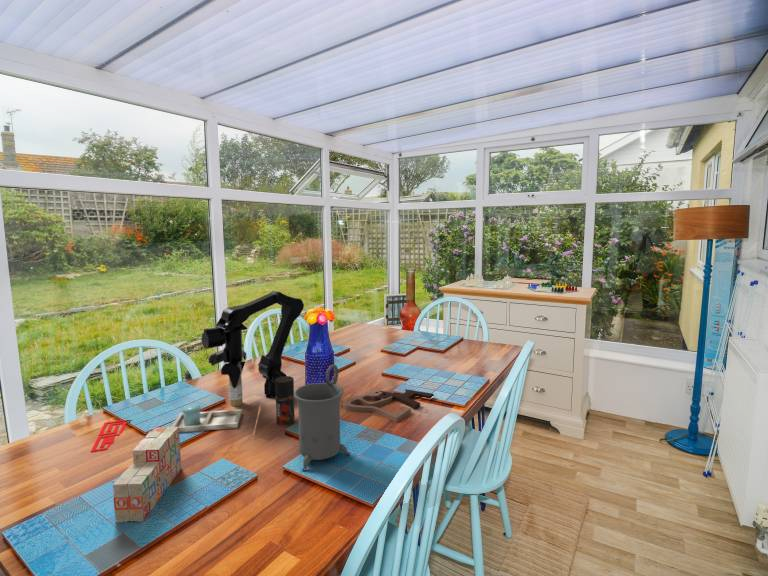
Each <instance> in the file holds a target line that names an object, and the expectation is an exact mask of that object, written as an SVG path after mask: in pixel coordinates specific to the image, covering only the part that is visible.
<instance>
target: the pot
mask: <svg viewBox="0 0 768 576" xmlns="http://www.w3.org/2000/svg"><path fill="white" fill-rule="evenodd" d="M181 410H182V412H183V413H184V426H193V425H199V424H200V412H201V405H200V404H198V403H197V404H196V403H193V404H187V405H185V406H183V407H182V408H181Z"/></svg>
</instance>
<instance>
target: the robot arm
mask: <svg viewBox="0 0 768 576" xmlns="http://www.w3.org/2000/svg"><path fill="white" fill-rule="evenodd" d="M303 301H304V300H302V299H301V298H297V297H292V296H289V295H286V294H285V293H283V292H281V291H276V290H273V291H271V292H269V293H267V294H265V295H263V296H260V297H257V298H256V299H254V300H251V301H249V302H247V303H244V304H239V305H233V306H229V307H225V309H223V310H222V313H221V315H220V316H221V317H220V318H219V320H218V321H217V323H216V324H215V327H211V328H203V333H202V334H201V337H200V338H201V339H200V340H201V344H202V347H203V348H204V349H205V350H208V349H213V348H218V347H223V346H224V345H225V346H224V348H223V349H221V350H218V351H216V352H214V353H211V354H210V355H209V356H208V359H207V360H208V363H209V364H210V365H211V366H215V365H217V364H219V363H222V362H223V365H222V367H221V369H220V374H221V376H226V375H227V376H228V375H229V377H228V379H229V378H230V380H231V383H232V386H233V388H236V387H237V384H238V381H239V378H240V375H241V372H242V373H243V369H244V368H245V364H246V361H247V358H248V357H247V356H248V355H247V352H245V351H244V350H243V348H244V344H243V334H242V331H246V330H248V327H247V326H245V324H243V323H245V322H246V321H248V319H249V317H251V316H252V315H254V314H256V313H258V312H261V311H262V310H265V309H267V308H269V307H271V306H273V305H275V304H277V305H280V306H281V307H280V308H281V309H280V313H281V318H280V321H279V324H278V327H277V330H276V332H275V334H274V337H273V340H272V343H271V346H270V348H269V351H268V352H267V354H266V355H263V354H262V355H261V356H260V360H259V362H258V364H257V366H258V368H257V370H258V371H259V374H260V375H262V377H263V379H265V381H264V387H263V388H264V395H265V398H266V399H267V398H268V399H269V398H276V389H275V379H276V378H278V377H282V376H288V375H287V374H286V373H284V371H282V365H283V364H282V354H283V352H284V349H285V347H286V344H287V341H288V338H289V336H290V334H291V329H292V327H293V324H294V322H295V321H296V320H297V319H298V318H299V317H300V316H301V314H302V312H303V310H304V307H305V303H304V302H303Z"/></svg>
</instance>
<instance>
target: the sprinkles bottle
mask: <svg viewBox="0 0 768 576" xmlns="http://www.w3.org/2000/svg"><path fill="white" fill-rule="evenodd" d="M242 375H243V371H242V372H241V375H240V378H239V381H238V384H237V387H236V388H233V386H232V383H231V380H230V378H229V375H227V376H228V384H229V385H228V386H229V387H228V389H229V401H230V402H229V405H230V406H231V407H238V406H242V405H243V384H242V383H243V381H242Z"/></svg>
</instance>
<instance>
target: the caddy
mask: <svg viewBox="0 0 768 576" xmlns="http://www.w3.org/2000/svg"><path fill="white" fill-rule="evenodd" d="M242 410H243V409H242V408H240V409H239V408H238V409H228V410H227V409H226V410H225V409H224V410H214V411H213V410H212V411H210V410H209V411H200V424H199V425H193V426H184V412H183V413H179V414H178V415H177V417H176V419H175V420H174V422H173V423H172V424H171V426H170V427H179V433H188V432H200V431H215V430H226V429H227V430H229V429H237V428H238V426H239V425H240V424H239V423H240V420H241V417H242V415H243V412H242Z"/></svg>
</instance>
